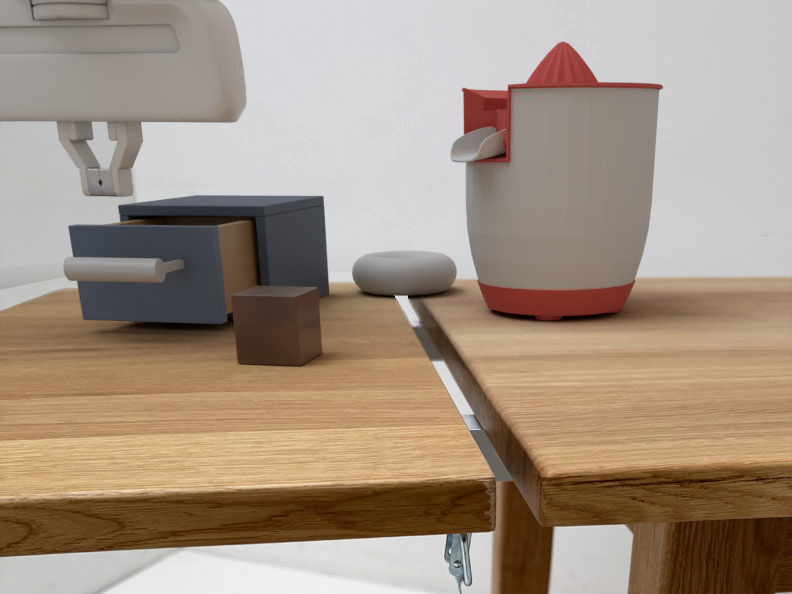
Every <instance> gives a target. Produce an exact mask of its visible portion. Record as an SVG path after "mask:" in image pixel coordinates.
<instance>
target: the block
mask: <svg viewBox="0 0 792 594" xmlns="http://www.w3.org/2000/svg"><path fill="white" fill-rule="evenodd" d="M231 300H232V310H233V317H232V320H233V328H234V329H233V330H234V340H235V349H236V359H237V365H260V366H261V365H262V366H263V365H264V366H287V367H289V366H290V367H302V366H303V365H305V364H306V363H308V362H310V361H311V360H313V359H315V358H317V357H319V356H320V355H321V354H323V344H322V343H323V342H322V327H321V309H320V298H319V293H318V287H293V286H255V287H252V288H249V289H246V290H244V291H241V292H238V293H235V294H232V295H231Z"/></svg>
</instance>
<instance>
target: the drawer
mask: <svg viewBox="0 0 792 594" xmlns="http://www.w3.org/2000/svg"><path fill="white" fill-rule="evenodd" d="M68 234H69V240H70V246H71V253H72V256H67V257H66V258H65V259H64V261H63V267H62V269H63V272H64V276H65V278H66V279H67V280H68V281H70V282H76V284H77V291H78V296H79V303H80V309H81V315H82V319H83V321H100V322H101V321H105V322H133V323H134V322H138V323H165V324H166V323H167V324H170V323H171V324H199V325H200V324H202V325H204V324H205V325H223V324H225V323H227V322H228V317H227V314H228V313H231V312H233V310H232V300H231V295H232V294H235V293H238V292H241V291H244V290H246V289H249V288H252V287H255V286H261V275H260V264H259V252H258V241H257V229H256V217H231V216H156V217H149V218H143V219H136V220H130V221H123V222H120V221H118V222H111V223H104V224H85V223H84V224H79V223H76V224H71V225H68Z"/></svg>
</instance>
